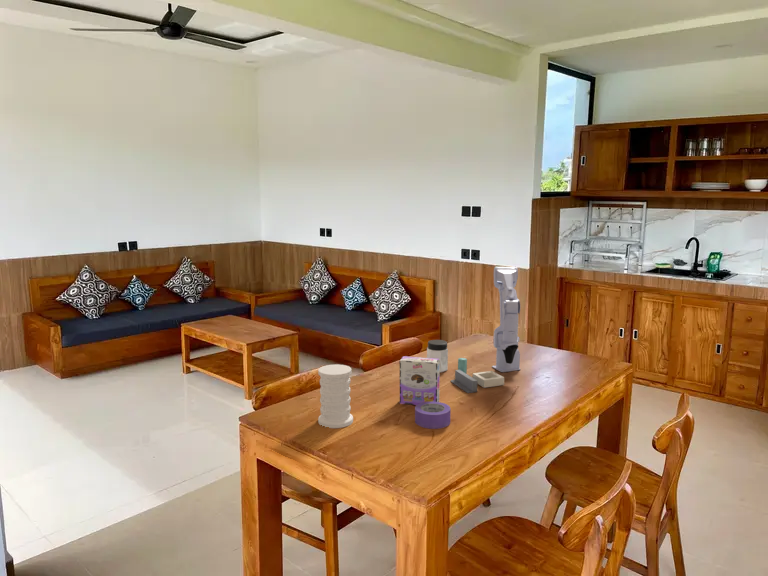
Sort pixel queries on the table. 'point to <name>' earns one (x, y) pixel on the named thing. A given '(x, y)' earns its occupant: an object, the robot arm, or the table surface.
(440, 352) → the jar
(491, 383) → the block
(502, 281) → the robot arm
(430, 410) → the tape roll
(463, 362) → the dowel
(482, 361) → the table surface
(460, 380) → the wall
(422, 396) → the candy box
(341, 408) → the decorative container
